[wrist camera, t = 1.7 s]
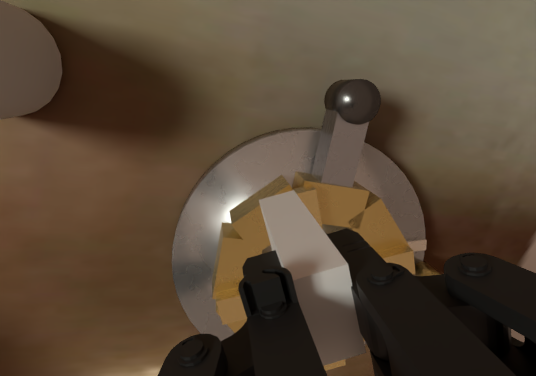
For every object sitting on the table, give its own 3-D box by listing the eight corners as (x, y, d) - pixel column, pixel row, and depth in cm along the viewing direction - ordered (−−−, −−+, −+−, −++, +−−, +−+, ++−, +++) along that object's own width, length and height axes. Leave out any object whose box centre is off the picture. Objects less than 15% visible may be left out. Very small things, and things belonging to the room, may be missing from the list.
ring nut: (364, 343, 35) (384, 377, 31) (202, 331, 32) (202, 366, 28) (436, 99, 30) (472, 101, 26) (250, 58, 27) (257, 54, 23)
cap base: (227, 385, 37) (231, 458, 30) (130, 182, 30) (105, 213, 23) (433, 303, 38) (486, 355, 30) (383, 89, 31) (435, 91, 24)
